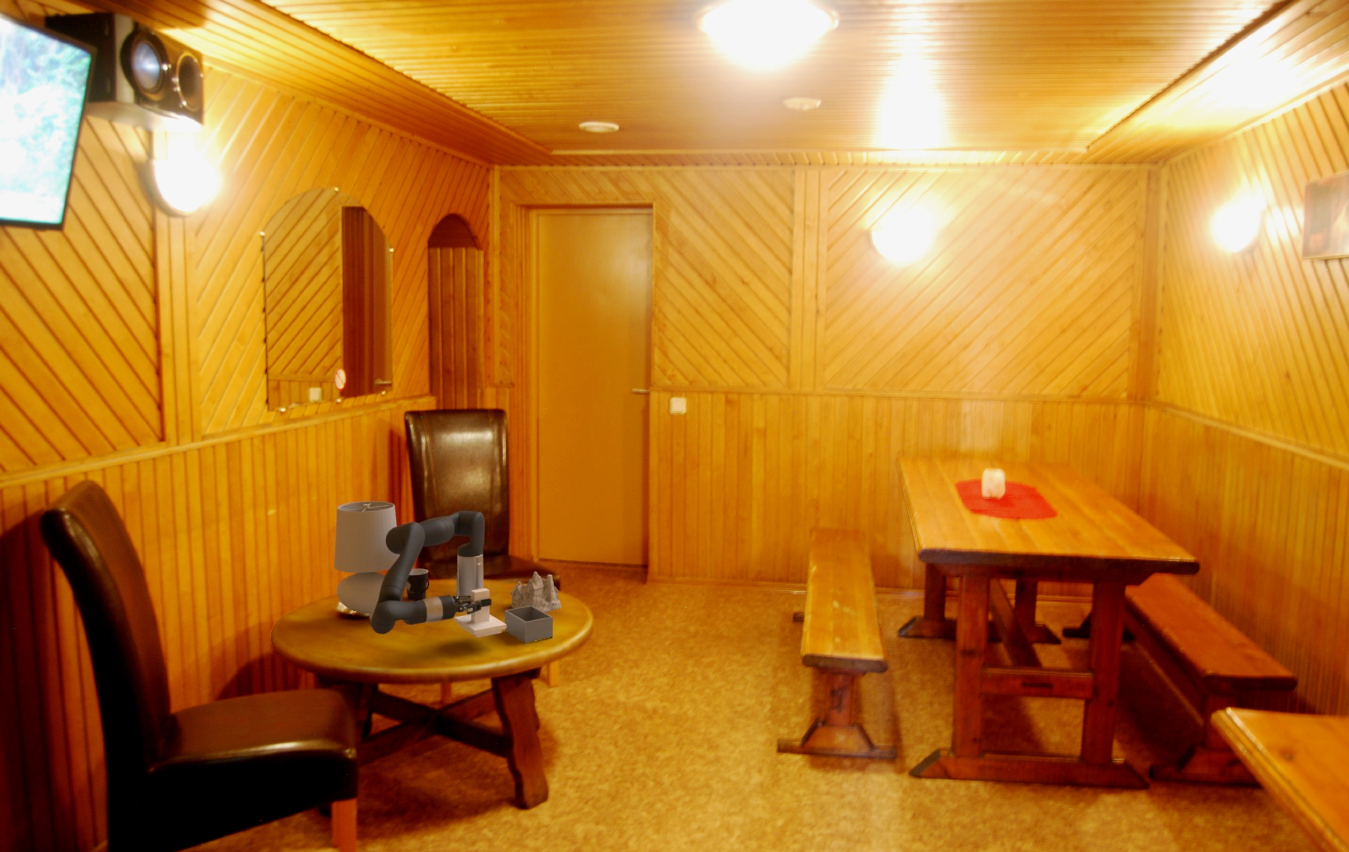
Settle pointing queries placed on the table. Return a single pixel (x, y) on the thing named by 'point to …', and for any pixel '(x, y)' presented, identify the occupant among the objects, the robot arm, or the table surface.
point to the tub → (528, 624)
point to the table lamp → (363, 552)
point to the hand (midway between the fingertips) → (488, 600)
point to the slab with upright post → (480, 618)
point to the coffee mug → (417, 584)
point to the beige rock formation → (536, 594)
